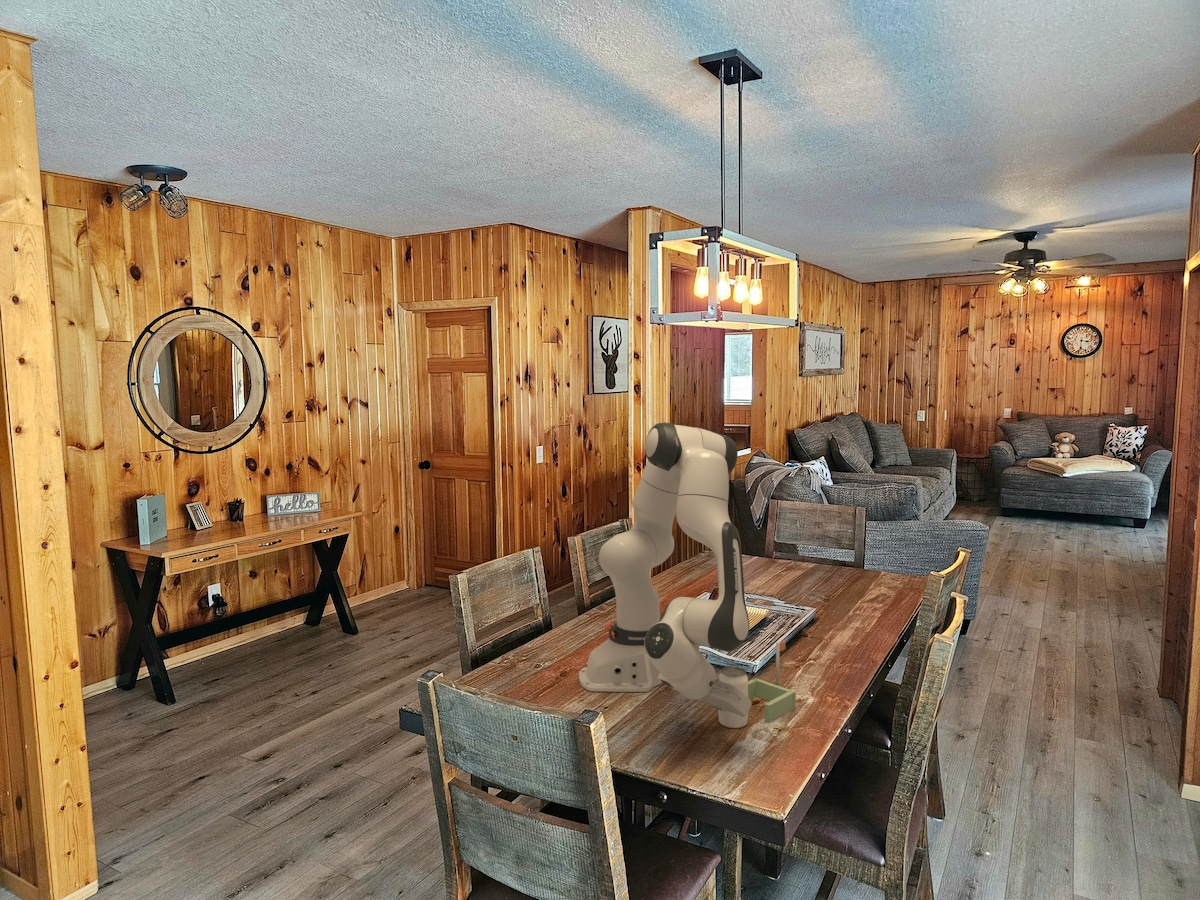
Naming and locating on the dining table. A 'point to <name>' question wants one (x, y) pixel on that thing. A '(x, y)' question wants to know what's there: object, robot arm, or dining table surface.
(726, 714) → the can
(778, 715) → the olive frame
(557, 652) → the dining table surface
